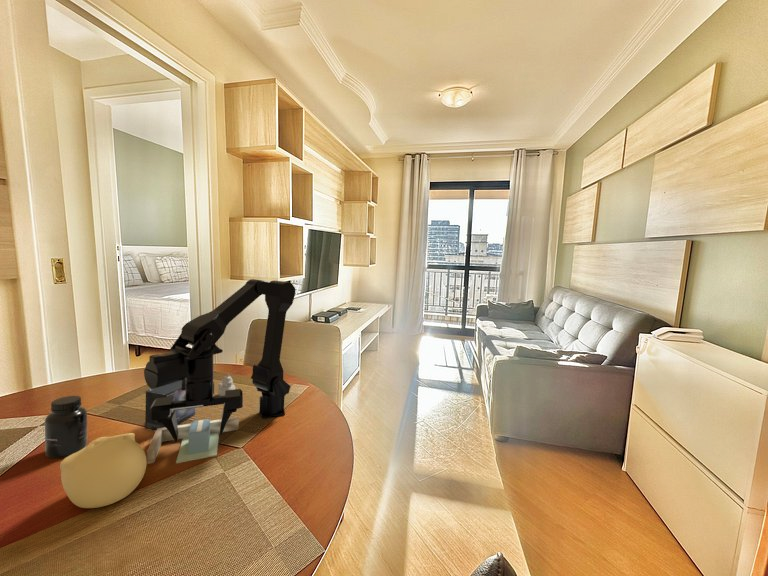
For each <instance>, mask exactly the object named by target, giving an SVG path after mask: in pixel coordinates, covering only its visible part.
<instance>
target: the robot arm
mask: <svg viewBox="0 0 768 576" xmlns="http://www.w3.org/2000/svg"><path fill="white" fill-rule="evenodd" d="M261 295H264V301H265V304H266V307H267V308H268V310H267V311H268V313H267V320H266V321H267V322H266V328H265V335H264V343H263V350H262V356H261V357H262V358H261V359H260V360H259V362H258V364H253V366H252V374H251V377H250V380H252V384H253V386H254V387H256V391H258V392H260V393H261V395H260V396H259V398H258V399H259V402H258V405H259V406H258V407H259V408H258V411H259V414H260V415H261V418H262V419H265V418H266V417H267V418H273V417H272V416H274V417H280V416H285V415H286V412H285V411H286V410H285V397H286V395H288V394H289V393H290V391H291V385H290V384H289V383H287V381H285V380H284V368H283V366H282V363H281V354H282V353H281V351H282V345H283V339H284V333H285V331H284V330H285V324H286V316H287V312H288V310H289V309H290V308H291V306H292V305H293V303H294V300H295V296H296V287H295V286H294V285H293V283H292V282H289V281H283V280H275V279H274V280H271V281H265V280H263V279H257V278H256V279H255V278H252V279H248V280H247V281H246V282H245V284H244V285H242V287H240V288H239V289H237V291H235V292H234V293H233V294H232V295H230V296H229V297H227V299H225V300H224V301H223V302H222V303H220V304H219V305H218V306H217V307H215V308H214V309H213V310H211V311H209V312H207V313H204V314H202V315H198V316H197V317H195V318H193V319H191V320H190V321H188V322H186V323H185V324H184V325H183V326H182V328H181V333H180V334H179V336H178V337H177V339H176V340H175V342H174V343H173V344H172V345H171V347H170V348H169V351H170V352H165V353H160V354H159V353H158V354H157V353H156V354H151V355H149V359H148V360H149V361H148V362H147V363H146V364H145V367H144V369H143V376H144V381H145V383H146V385H147V386H148V387H149V389H154V388H157V387H161V386H164V385H168V384H171V383H175V382H178V381H181V380H182V391H183V390H186V400H183V401H175V398H174V396H172V397H163V398H157V399H156V400H155V401H154V402H153V404H152V406H151V408H150V411H149V420H157V423H162V424H163V425H164V426H165V427H166V428H167V429H168V431H169V432H170V434H171V435H172V437H173V439H174V440H173V441H174V442H175V443H177V442H178V441H179V439H178V427H177V426H178V425H177V419H176V410H180V409H188V408H195V409H196V408H203V407H209V406H210V407H212V406H218V405H222V406H223V407H222V414H221V425H220V433H219V435H221V436H222V435H223V433H224V432H223V430H224V428H225V425H226V423H227V421H228V419H229V418H231V416H232V414H233V413H236V412H237V411H238V409H241V408H243V406H244V405H243V402H244V400H243V399H244V398H243V397H244V396H243V395H244V394H243V390H242V388H238V389H237V388H235V390H226V391H225V396H219V395H218V396H214V395H215V381H214V363H215V362H214V357H215V356H214V355H217V354H222V353H223V350H224V349H221V348H220V347H219V346H218V345H217V342H218V341H219V340H220V339H221V337H222V336H223V335H224V334H225V331H226V329H227V326H228V325H229V324H230V323H231V322H232V321H233V320H234V319H236V318H237V316H239V315H240V314H241V313H242V312H243V311H245V309H247V308H248V307H249V306H250V305H251V304H252V303H254V301H256V300H257V299H258V298H259V297H260V296H261ZM187 345H189V346H190V345H191V346H192V347H189V346H187Z"/></svg>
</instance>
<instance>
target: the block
mask: <svg viewBox="0 0 768 576" xmlns="http://www.w3.org/2000/svg"><path fill="white" fill-rule="evenodd" d="M210 421H211V418H206V419H199V420H198V419H197V420H192V421H191V422H190V424H191V426H190V430H189V443H188V455H190V454H196V453H201V452H207V451H208V450H209V442H210Z"/></svg>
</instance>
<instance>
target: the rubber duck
mask: <svg viewBox="0 0 768 576" xmlns="http://www.w3.org/2000/svg"><path fill="white" fill-rule="evenodd" d="M233 382H234V380H233V378H232V376H231V375H230V374H229V373H227V374H226V375H224V377H223V378H222V379H221V382H219V383H218V384H217V387H218V388H217V395H218V396H225V391H226V390H235V389H236V385H235V384H234V383H233Z"/></svg>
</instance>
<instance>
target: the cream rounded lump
mask: <svg viewBox="0 0 768 576" xmlns="http://www.w3.org/2000/svg"><path fill="white" fill-rule="evenodd" d="M135 436H136V435H135V433H132V432H129V433H124V434H123V433H122V434H118V435H117V434H116V435H113V436H101V437H97V438H95V439H94V440H92V441H90V442H89V443H87V445H86V447H85V448H83V449H82V450H80V451H78V452H76V453H74V454H72V455H70V456H67V457H64V459H63V460H62V461H61V462H60V463H59V467H60V468H59V470H60V471H61V472H60V476H61V477H60V478H61V480H60V481H61V483H62V487H63V490H64V492H65V493H66V495H67V497H68V499H69V500H70V502H72V504H73V505H75V506H76V507H78V508H82V509H95V508H102V507H106V506H109V505H112V504H114V503H116V502H119V501H121V500H123V499H124V498H126V497H127V496H129V495H130V494H131V493H132V492H133V491H135V490H136V488H137V487H139V484H140V483H141V481H142V479H143V478H144V476H145V473H146V470H147V465H148V464H147V454H146V452H145V450H144V448H143V447H142V446H141V445H140V444H139V443H138V442H136V440H135Z"/></svg>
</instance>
